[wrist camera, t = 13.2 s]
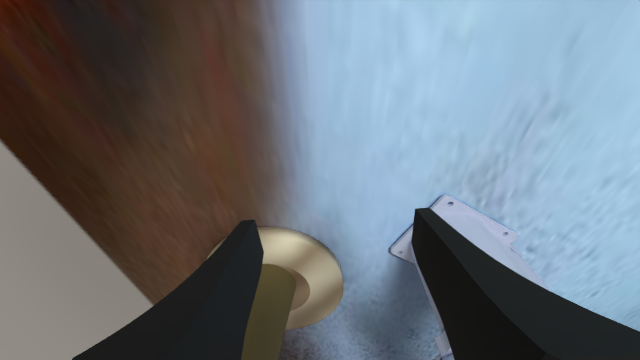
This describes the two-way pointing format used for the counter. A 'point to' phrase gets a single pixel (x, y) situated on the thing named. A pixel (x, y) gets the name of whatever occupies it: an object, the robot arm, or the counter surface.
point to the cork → (269, 314)
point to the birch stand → (303, 273)
